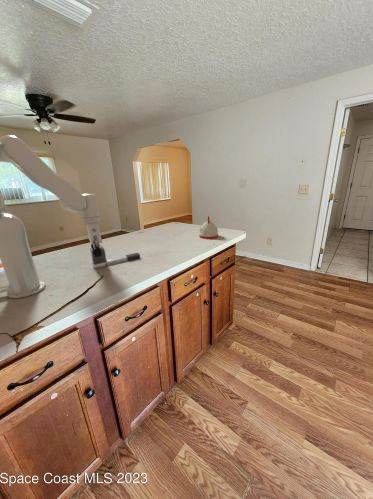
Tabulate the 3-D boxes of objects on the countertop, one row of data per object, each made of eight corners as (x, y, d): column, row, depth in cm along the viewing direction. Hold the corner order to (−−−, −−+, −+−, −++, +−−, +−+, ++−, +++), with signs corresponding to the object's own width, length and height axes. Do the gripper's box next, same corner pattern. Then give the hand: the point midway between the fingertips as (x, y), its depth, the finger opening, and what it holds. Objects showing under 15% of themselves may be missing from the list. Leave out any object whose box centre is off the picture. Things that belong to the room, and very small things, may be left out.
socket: (94, 264, 102) (91, 251, 100) (92, 261, 107) (89, 248, 105) (106, 262, 105) (104, 249, 103) (104, 258, 110) (102, 246, 108)
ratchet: (94, 269, 103) (91, 257, 101) (92, 265, 108) (89, 253, 106) (141, 259, 114) (139, 248, 112) (137, 255, 120) (136, 245, 118)
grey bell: (217, 234, 160) (218, 215, 155) (218, 239, 147) (218, 218, 142) (200, 234, 162) (199, 215, 157) (198, 239, 149) (198, 218, 144)
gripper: (102, 221, 94) (107, 257, 99) (97, 217, 108) (101, 248, 113) (84, 223, 90) (90, 260, 96) (81, 218, 105) (86, 250, 110)
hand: (96, 253), depth 104 cm, fingers open, 9 cm apart
